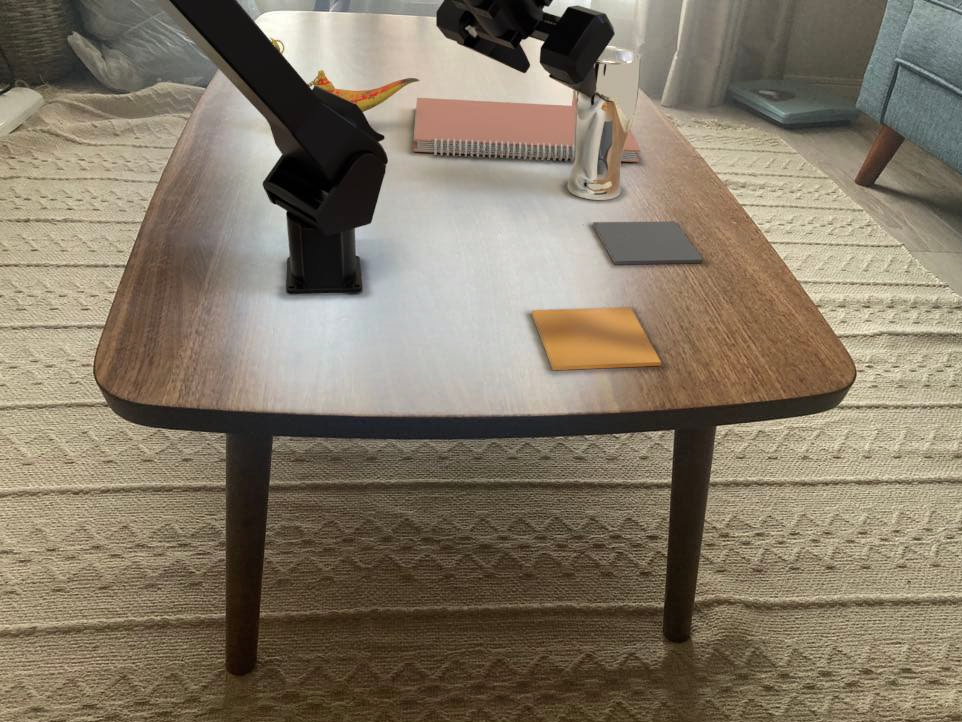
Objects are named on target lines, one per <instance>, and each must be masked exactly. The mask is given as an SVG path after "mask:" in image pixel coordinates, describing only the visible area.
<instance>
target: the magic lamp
mask: <svg viewBox="0 0 962 722" xmlns="http://www.w3.org/2000/svg"><path fill="white" fill-rule="evenodd" d="M269 39H270V41H271V42H272V43H273V44H274V46H275V47H276V48H277V49H278V50H279V51H280V53H281V54H282V55H283V56H284V54H283V53H284V52H285V45H284V42H283V41H282V40H280V39H274V38H273V37H271V36H269ZM279 43H280V44H281V46H282V49H281V48H280V45H279ZM420 81H421V80H420V79H419V78H417V77H406V78H402V79H398V80H396V81H393V82H390V83H388V84H386V85H383V86H380V87H378V88H377V87H376V88H373V89H367V90H366V89H365V90H349V89H342V88H336V87H335V85H334V83H333V82H332V81H330V80H329V79H328V78H327V76H326V74H325V72H324V70H322V69H320V70H318V71H317V76H316V77H315V78H314V79H313V80H312V81H311V82H309V83H307V85H308V86H309V87H310V88H311V87H314V86H315V85H316V86H318V87H320V88H322V89H324V90H327V91H329V92H331V93H333V94H335V95H337V96H340V97H342V98H344V99H346V100H348V101H350V102H353V103H355V104H357V105H358V107H359V108H360V109H361V111H362V112H363V113H364V112H366V111H369V110H371V109H373V108H376V107H377V106H379V105H381V104H382V103H384V102H385V101H386V100H388V99H389V98H391V97H392V96H393V95H395V94H396V93H397V92H398V91H400V90H402V89H403V88H404V87H407V86H408V85H409V84H413V83H416V82H420Z"/></svg>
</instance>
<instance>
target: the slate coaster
mask: <svg viewBox="0 0 962 722" xmlns="http://www.w3.org/2000/svg"><path fill="white" fill-rule="evenodd" d="M592 227H593V229H594V230H595V232H596V234H597V236H598V238H599V240H600V241H601V243H602V244H603V246H604V248H605V250H606V252H607V253H608V255H609V257H610V258H611V260H612V263H613V264H614V265H616V266H617V265H618V266H619V265H621V266H622V265H668V264H669V265H672V264H673V265H674V264H703V258H702V256H701V254H699V252H698V251H697V250H696V248H695V247H694V246H693V244H692V243H691V241H689V239H688V237H687V236H686V234H685V233H684V232H683V231H682V229H681V228H680V226H679V225H678V223H676V221H593V222H592Z"/></svg>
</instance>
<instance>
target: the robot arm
mask: <svg viewBox="0 0 962 722" xmlns="http://www.w3.org/2000/svg"><path fill="white" fill-rule="evenodd" d="M553 1H554V0H443V1H442V3H441V4H440V6H439V7H438V9H437V10H436V14H435V15H436V16H435V18H436V19H435V21H436V22H435V24H436V25H435V26H436V28H438V30H439V31H440V32H441V33H442V35H443V36H444V37H445V39H448V40H451V41H454V42H456V43H457V45H460V46H461V47H465V48H467V49H468V50H471V51H473V52H475V53H478V54H479V55H482V56H484V57H487V58H489V59H492V60H493V61H495V62H498V63H500V64H502V65H504V66H507V67H509V68H511V69H513V70H515V71H518V72H520V73H522V74H526V73H527V72H528V70H529V69H530V67H531V63H530V61H529V58H528V56H527V54H526V52H525V50H524V48H523V47H522V44H521V42H522V41H525V40H527V39H529V38H532V39H535V40H538V41H540V42H543V43H542V45H541V46H540V49H539V64H540V65H541V67H542V68H543V70H544V71H545V72H547V73H548V74H549V75H548V78H550V79H552V80H554V81H555V82H557V83H559V84H561V85H564V86H565V87H568V88H569V89H571V90H572V91H573V90H575V91H577V92H579V93H581V94H583V95H585V96H587V97H589V98H591V97H592V96H593V94H594V93H595V91H596V89H597V88H596V78H595V69H594V64H595V63H596V61H597V60H598V58H599V57H600V55H601V54H602V53H603V51H604V50H605V48H606V47H607V45H609V44H610V42H611V41H612V40H613V37H614V36H615V35H616V33H615V28H614V26H613V24H612V22H611V20H610V19H609V17H608V15H607V13H605V12H601V11H598V10H595V9H592V8H588V7H584V6H581V5H578V4H577V5H570V6H567V7H566V9H565V11H564V12H563V14H562V15H561V16H558V15H555V14H552V13H549V12H546V11H544V8H545V7H547V8H548V7H550V5H551V4H552V3H553ZM154 2H155V3H156V4H157V5H158V6H159V7H160V8H161V9H162V10H163V11H164V12H165V13H166V14H167V16H169V17H170V19H171V20H172V21H173V22H174V23H175V24H176V25H177V26H178V27H179V28H180V29H181V30H182V31H183V32H184V34H186V36H187V37H188V38H189V39H190V40H191V41H192V42H193V43H194V44H195V46H197V48H198V49H200V50H201V51H202V53H203V54H204V55H205V56H206V57H207V58H208V59H209V60H210V61H211V63H213V64H214V65H215V66H216V67H217V69H218V70H219V71H220V72H221V73H222V74H223V76H225V77H226V79H228V80H229V82H231V84H232V85H233V86H234V87H235V88H236V89H237V90H238V91H239V93H241V94H242V95H243V96H244V98H245V99H246V100H247V101H248V102H249V103H250V104H251V105H252V106H253V107H254V108H255V109H256V110H257V111H258V112H259V114H260V115H262V117H263V118H264V119H265V121H266V122H267V124H268V125H269V129H270V131H271V134H272V137H273V138H272V139H273V141H274V144H275V146H276V147H277V149H278V150H279V152H280V154H281V156H280V157H279V158H278V159H277V161H276V163H275V164H274V166H273V167H272V169H270V171H269V173H268V174H267V175H266V177H265V179H264V180H263V181H262V187H263V189H264V192H265V194H266V196H267V198H268V200H269V202H270V203H271V204H273V205H277V206H278V207H280V208H281V209H283V210H285V211H286V213H285V214H286V215H285V216H286V227H287V239H288V240H287V241H288V251H289V252H288V253H289V256H288V257H287V258H286V271H285V272H286V273H285V274H286V275H285V276H286V277H285V292H286V294H288V295H318V294H319V295H320V294H321V295H323V294H325V295H326V294H358V293H361V292H363V289H364V288H363V278H362V277H363V276H362V267H361V257H360V256H359V255H357V249H356V248H357V247H356V245H357V244H356V229H357V228H360V227H364V226H367V225H371V224H372V222H373V218H374V216H375V215H374V214H375V212H376V211H375V210H376V207H377V205H378V200H379V198H380V197H379V196H380V193H381V189H382V186H383V181H384V178H385V175H386V170H387V165H388V163H389V158H388V154H387V151H386V150H385V148H384V146H383V145H382V144H381V143H380V142H381V141H384V140H385V135H384V134H382V133H379V132H378V131H376V130H375V129H374V128H373V127H372V125H371V124H370V123H369V121H368V119H367V117H366V115H365V113H364V112H362V111H361V109H360V108H359V107H358V105H357V104H355V103H353V102H350V101H348V100H346V99H344V98H342V97H340V96H337V95H335V94H333V93H331V92H329V91H327V90H324V89H322V88H320V87H318V86H316V85H315V86H314V85H313V88H311V86H310V87H309V86H308V85H307V84H308V83H307V82H306V81H305V80H304V78H303V77H302V76H301V75H300V74H299V73H298V72H297V70H296V69H295V68H294V67H293V66H292V64H291V63H290V62H289V61H288V60H287V59H286V57H285V56H284V54H283V53H282V54H283V55H282V54H281V53H280V52H281V50H280V51H279V50H278V49H277V48H276V47H275V45H274V44H273V43H272V41H271V39H270V37H268V36H267V34H265V33H264V31H263V30H262V28H260V26H259V25H258V24H257V23H256V21H255V20H254V19H253V18H252V17H251V16H250V14H249V13H248V12H247V11H246V10H245V8H244V7H243V6H242V5H241V4H240V3H239V2H238V0H154Z"/></svg>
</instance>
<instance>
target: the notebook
mask: <svg viewBox="0 0 962 722" xmlns="http://www.w3.org/2000/svg"><path fill="white" fill-rule="evenodd" d="M414 116H415V117H414V126H413V127H414V128H413V138H412V140H413V150H412V151H413V152H414V153H415V152H417V153H419V152H420V153H433V154H434V156H437V154H438V153H439V155H440V156H443V155H444V154H446V157H449V156H450V154H452V157H455V156H456V154H458V157H461V156H462V155H464V157H465V158H466V157H467V156H468V155H470V157H473V158H474V155H476V158H479V157H480V155H482V158H483V159H484V158H486V156H487V157H488V158H489V159H490V158H492V156H493V158H494V159H497V157H498V156H499V158H500V159H503V158H504V157H505V159H509V158H510V157H511V159H512V160H515V157H517V160H520V159H521V157H523V160H527V158H529V160H530V161H531V160H533V158H535V159H534V160H535V161H538V160H539V158H540V160H541V161H544V160H545V159H546V160H547V161H550V160H551V159H552V161H554V162H555V161H556V160H557V159H558V161H559V162H562V160H564V162H567V161H568V160H569V161H570V162H573V161H574V135H573V121H572V105H565V104H564V105H563V104H545V103H544V104H543V103H527V102H507V101H490V100H489V101H487V100H472V99H455V98H454V99H453V98H436V97H435V98H433V97H416V104H415V115H414ZM637 153H641V148H640V146H639V144H638V142H637V140H636V138H635V136H634V134H633V131H632V130H631V128H630V131H629V135H628V138H627V141H626V144H625V147H624V150H623V154H622V159H621V162H629V163H630V162H631V163H639V162H640V160H639V157H638V155H637Z"/></svg>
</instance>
